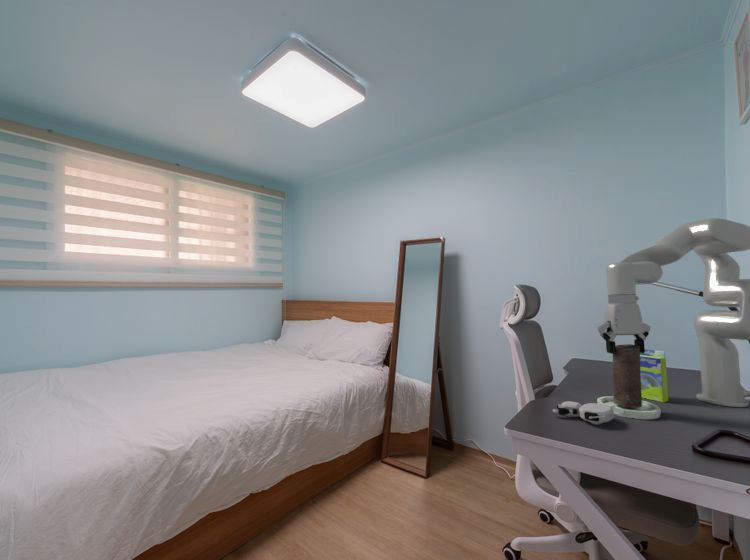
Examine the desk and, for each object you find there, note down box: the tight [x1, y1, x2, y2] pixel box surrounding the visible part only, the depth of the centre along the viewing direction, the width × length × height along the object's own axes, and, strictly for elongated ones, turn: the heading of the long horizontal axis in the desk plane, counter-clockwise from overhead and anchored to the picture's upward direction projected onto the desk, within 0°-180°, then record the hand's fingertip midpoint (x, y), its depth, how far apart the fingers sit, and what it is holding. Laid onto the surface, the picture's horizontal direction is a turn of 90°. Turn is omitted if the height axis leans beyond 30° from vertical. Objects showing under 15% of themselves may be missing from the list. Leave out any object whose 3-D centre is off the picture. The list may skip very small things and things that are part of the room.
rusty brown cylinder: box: [612, 343, 643, 408], centre depth 108 cm, size 8×7×20 cm
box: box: [640, 348, 669, 403], centre depth 121 cm, size 10×4×17 cm, turn 28°
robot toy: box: [552, 400, 616, 426], centre depth 101 cm, size 12×4×15 cm
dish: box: [596, 395, 662, 421], centre depth 107 cm, size 16×16×2 cm
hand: (625, 352), depth 108 cm, fingers open, 9 cm apart
